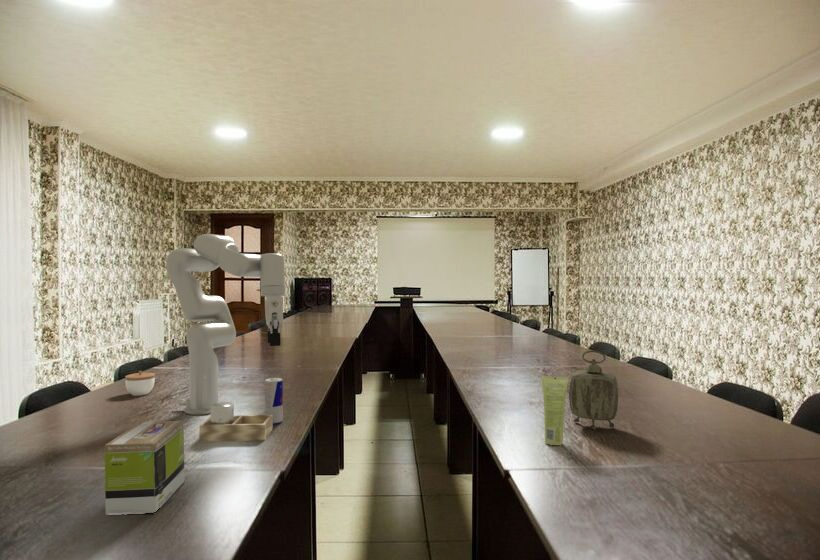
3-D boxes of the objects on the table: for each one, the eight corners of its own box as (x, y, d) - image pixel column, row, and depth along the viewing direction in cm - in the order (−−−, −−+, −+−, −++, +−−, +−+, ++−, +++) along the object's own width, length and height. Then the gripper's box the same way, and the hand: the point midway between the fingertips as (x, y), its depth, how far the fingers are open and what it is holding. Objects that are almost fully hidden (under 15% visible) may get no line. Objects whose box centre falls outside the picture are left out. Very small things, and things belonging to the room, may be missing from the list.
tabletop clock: (618, 427, 149) (618, 350, 149) (617, 435, 141) (618, 354, 141) (571, 421, 155) (571, 347, 155) (568, 429, 147) (568, 350, 147)
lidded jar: (147, 389, 197) (147, 367, 197) (159, 393, 191) (160, 370, 191) (120, 394, 188) (120, 371, 188) (132, 398, 182) (132, 374, 182)
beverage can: (277, 428, 146) (277, 381, 146) (261, 427, 147) (261, 380, 147) (285, 423, 152) (285, 377, 152) (270, 422, 153) (270, 377, 153)
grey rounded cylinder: (207, 439, 133) (207, 408, 133) (214, 432, 139) (215, 402, 139) (229, 438, 134) (229, 407, 134) (236, 431, 140) (236, 402, 140)
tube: (555, 439, 137) (555, 373, 137) (568, 444, 133) (568, 377, 133) (540, 442, 135) (541, 375, 135) (553, 447, 130) (553, 379, 130)
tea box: (140, 483, 106) (141, 420, 106) (185, 482, 107) (186, 419, 107) (103, 517, 91) (103, 443, 91) (155, 515, 92) (155, 441, 92)
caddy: (199, 444, 131) (199, 425, 131) (211, 433, 141) (211, 415, 141) (264, 443, 133) (265, 424, 133) (272, 432, 142) (272, 414, 142)
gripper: (287, 291, 143) (288, 346, 142) (282, 291, 159) (283, 340, 158) (262, 291, 140) (263, 348, 140) (259, 291, 156) (260, 342, 156)
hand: (274, 344), depth 149 cm, fingers open, 9 cm apart
